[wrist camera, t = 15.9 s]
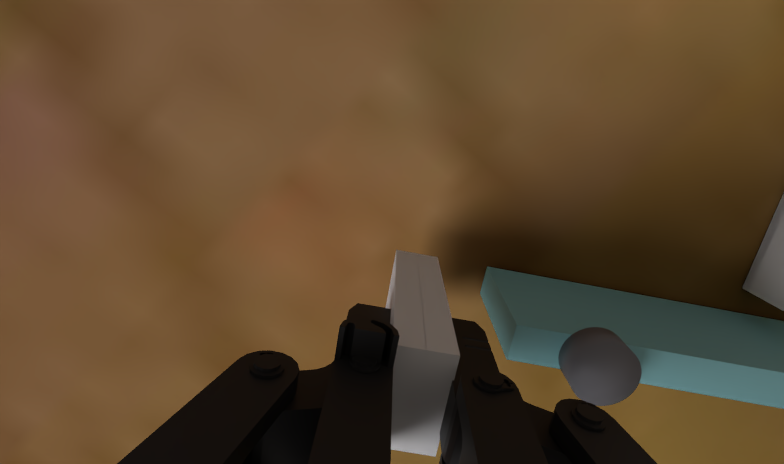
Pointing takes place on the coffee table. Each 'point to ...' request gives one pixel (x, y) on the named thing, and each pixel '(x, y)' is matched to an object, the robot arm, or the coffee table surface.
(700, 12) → the coffee table surface
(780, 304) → the white square tray
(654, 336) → the gate
